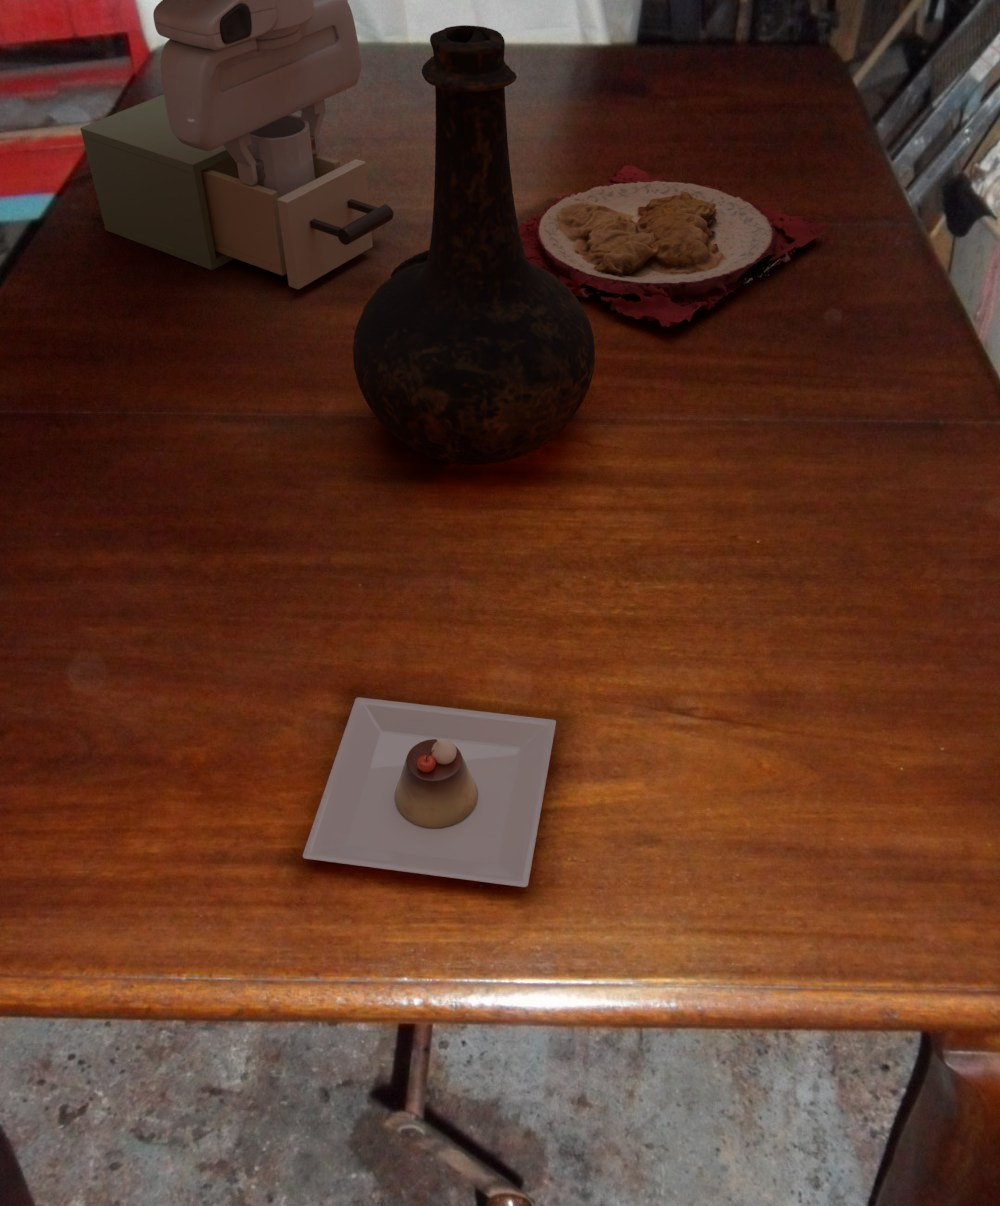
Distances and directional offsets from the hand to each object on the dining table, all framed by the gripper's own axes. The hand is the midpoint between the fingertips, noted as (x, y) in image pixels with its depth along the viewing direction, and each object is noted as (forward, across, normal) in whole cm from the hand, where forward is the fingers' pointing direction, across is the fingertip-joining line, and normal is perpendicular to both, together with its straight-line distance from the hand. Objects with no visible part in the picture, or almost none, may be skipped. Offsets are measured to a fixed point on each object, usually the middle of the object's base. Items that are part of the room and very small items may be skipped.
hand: (280, 168), depth 105 cm
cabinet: (+8, 0, -12) cm, 15 cm away
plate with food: (+9, -21, +26) cm, 34 cm away
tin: (+2, 0, 0) cm, 2 cm away
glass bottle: (+9, +13, +31) cm, 35 cm away
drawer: (+8, 0, +1) cm, 8 cm away
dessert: (+9, +44, +51) cm, 68 cm away
